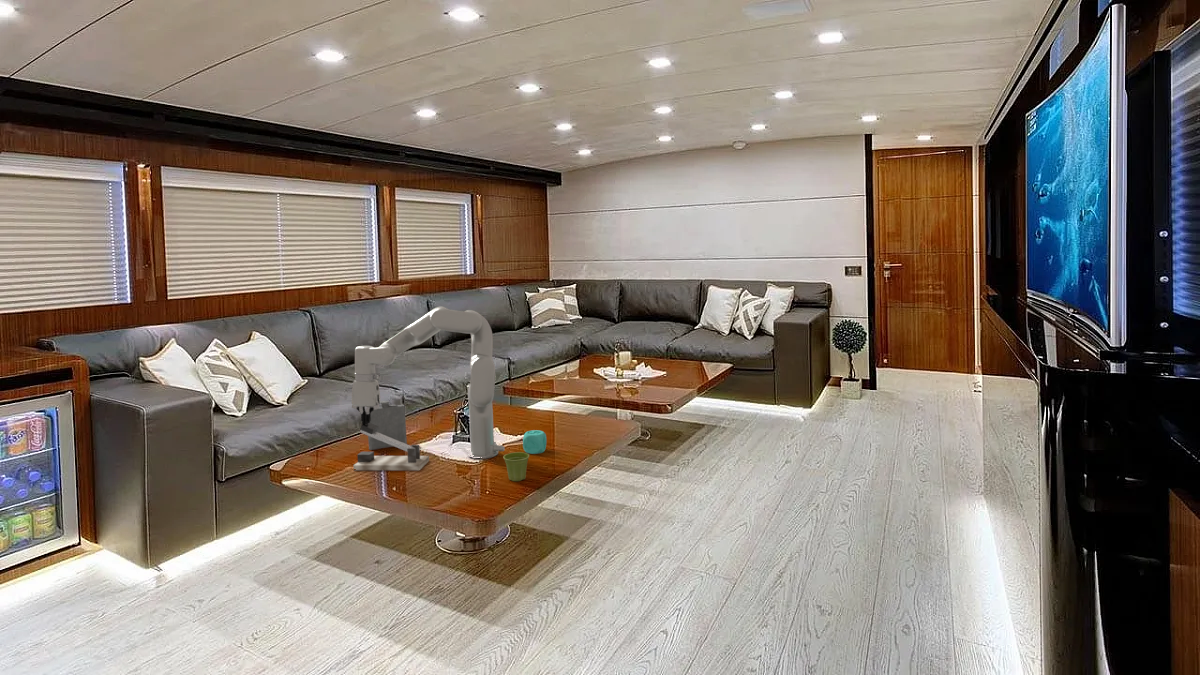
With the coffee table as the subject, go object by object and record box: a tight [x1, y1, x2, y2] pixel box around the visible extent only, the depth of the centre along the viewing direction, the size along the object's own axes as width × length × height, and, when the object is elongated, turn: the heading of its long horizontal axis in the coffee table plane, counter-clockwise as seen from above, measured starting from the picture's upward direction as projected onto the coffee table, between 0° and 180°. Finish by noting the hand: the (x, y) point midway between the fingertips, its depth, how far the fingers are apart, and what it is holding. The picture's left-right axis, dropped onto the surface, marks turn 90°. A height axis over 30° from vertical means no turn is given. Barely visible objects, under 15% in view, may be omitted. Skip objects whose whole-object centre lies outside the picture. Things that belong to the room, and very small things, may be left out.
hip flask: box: [367, 400, 408, 451], centre depth 288 cm, size 16×4×20 cm, turn 117°
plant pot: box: [503, 451, 530, 482], centre depth 244 cm, size 9×9×9 cm
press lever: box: [359, 423, 415, 452], centre depth 262 cm, size 22×5×4 cm, turn 88°
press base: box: [353, 444, 430, 471], centre depth 262 cm, size 26×12×8 cm, turn 86°
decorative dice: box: [522, 429, 548, 455], centre depth 277 cm, size 8×8×8 cm
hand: (365, 423), depth 261 cm, fingers closed
